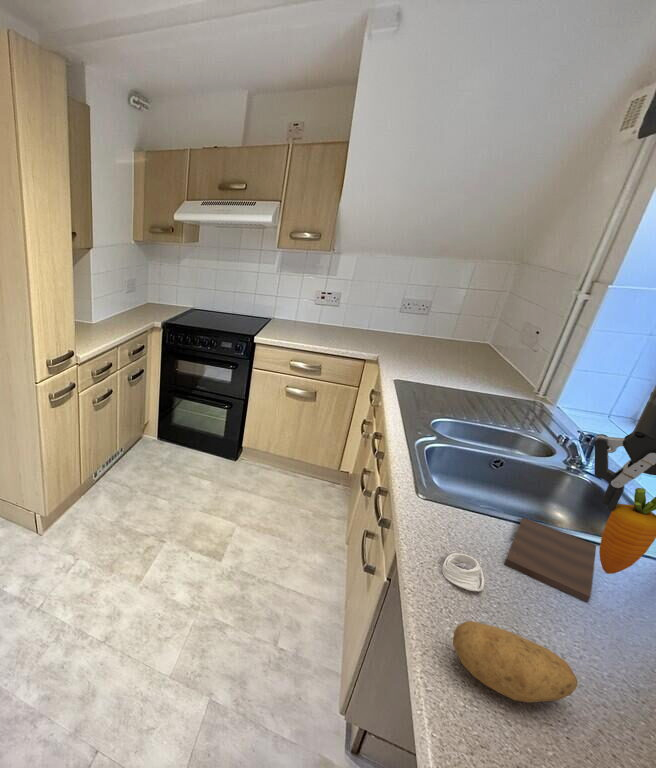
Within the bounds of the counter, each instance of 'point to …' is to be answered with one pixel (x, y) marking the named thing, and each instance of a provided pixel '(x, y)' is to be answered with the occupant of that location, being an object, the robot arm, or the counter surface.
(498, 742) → the counter surface
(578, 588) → the cutting board
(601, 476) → the robot arm
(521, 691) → the potato
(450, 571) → the white string coil
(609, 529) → the carrot
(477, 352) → the counter surface
